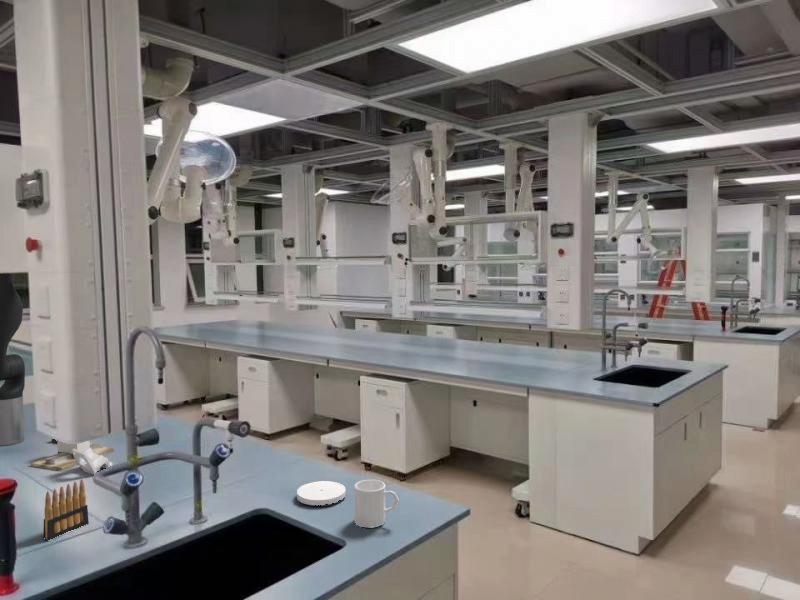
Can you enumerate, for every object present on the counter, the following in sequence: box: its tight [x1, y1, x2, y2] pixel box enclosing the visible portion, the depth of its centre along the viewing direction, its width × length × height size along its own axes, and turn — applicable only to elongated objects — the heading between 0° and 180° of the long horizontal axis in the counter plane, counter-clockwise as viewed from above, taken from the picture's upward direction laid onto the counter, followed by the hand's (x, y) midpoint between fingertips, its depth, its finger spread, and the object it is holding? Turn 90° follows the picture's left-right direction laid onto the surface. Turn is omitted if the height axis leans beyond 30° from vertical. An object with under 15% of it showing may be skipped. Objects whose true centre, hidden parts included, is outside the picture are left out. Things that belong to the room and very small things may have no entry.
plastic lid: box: [296, 480, 347, 506], centre depth 163 cm, size 14×14×2 cm
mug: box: [353, 479, 400, 527], centre depth 147 cm, size 8×12×10 cm
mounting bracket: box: [72, 448, 114, 475], centre depth 185 cm, size 12×6×11 cm, turn 55°
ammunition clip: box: [43, 478, 90, 541], centre depth 142 cm, size 11×2×12 cm, turn 154°
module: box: [56, 440, 91, 459], centre depth 197 cm, size 9×5×8 cm, turn 71°
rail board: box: [30, 442, 115, 471], centre depth 197 cm, size 14×21×2 cm, turn 161°
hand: (79, 384), depth 205 cm, fingers open, 8 cm apart
